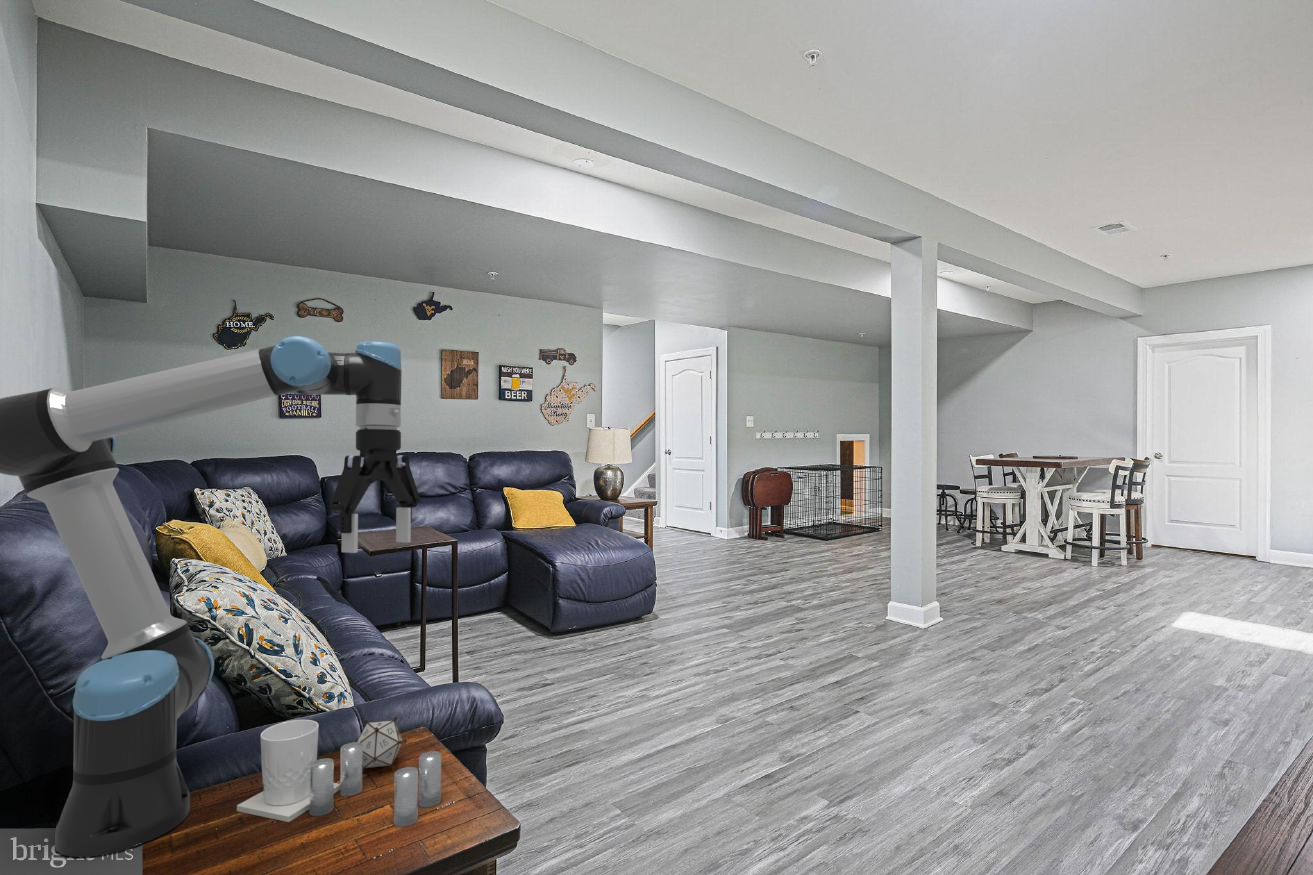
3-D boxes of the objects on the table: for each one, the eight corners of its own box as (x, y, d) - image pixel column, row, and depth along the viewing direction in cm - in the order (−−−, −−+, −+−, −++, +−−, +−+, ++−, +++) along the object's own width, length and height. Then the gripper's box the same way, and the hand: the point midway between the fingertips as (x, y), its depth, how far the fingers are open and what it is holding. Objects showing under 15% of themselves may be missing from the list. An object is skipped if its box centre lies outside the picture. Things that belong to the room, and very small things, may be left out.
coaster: (236, 810, 100) (236, 805, 100) (292, 779, 109) (292, 774, 109) (288, 822, 97) (288, 816, 97) (341, 789, 106) (341, 784, 106)
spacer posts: (304, 814, 99) (304, 766, 99) (355, 781, 108) (355, 738, 109) (400, 834, 93) (401, 783, 94) (445, 798, 103) (445, 752, 103)
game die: (366, 790, 113) (337, 738, 115) (412, 757, 119) (384, 708, 121) (373, 783, 107) (342, 728, 109) (421, 749, 112) (391, 697, 114)
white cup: (293, 810, 98) (293, 742, 98) (247, 805, 100) (247, 738, 100) (329, 784, 106) (329, 721, 106) (286, 780, 107) (286, 717, 108)
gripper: (343, 425, 107) (341, 558, 107) (439, 430, 131) (438, 539, 130) (306, 426, 109) (305, 556, 109) (407, 431, 133) (406, 537, 133)
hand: (377, 547), depth 120 cm, fingers open, 13 cm apart
